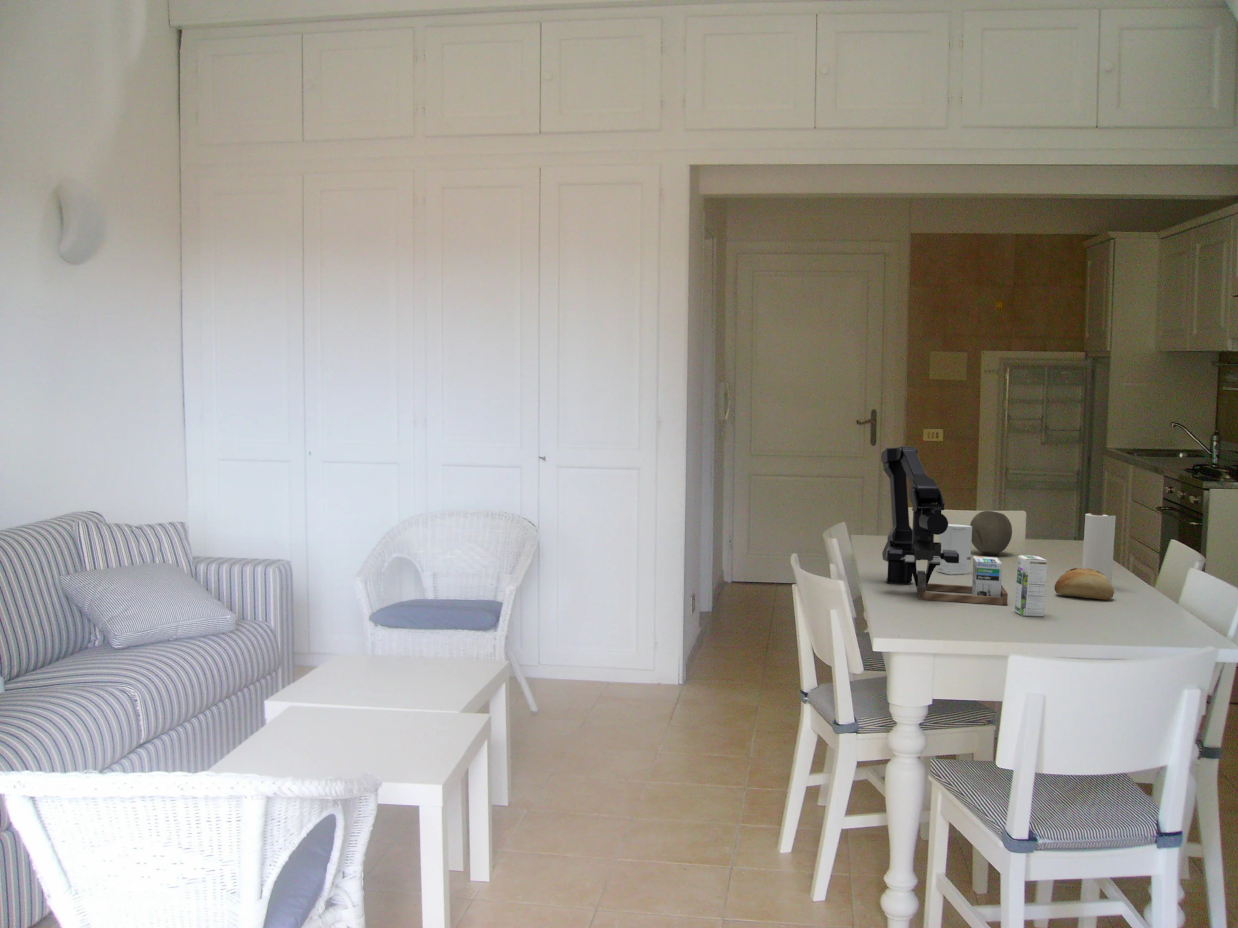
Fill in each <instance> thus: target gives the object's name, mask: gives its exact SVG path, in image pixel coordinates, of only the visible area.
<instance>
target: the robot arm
mask: <svg viewBox="0 0 1238 928" xmlns="http://www.w3.org/2000/svg"><path fill="white" fill-rule="evenodd" d="M880 461H881V463H882V467H883V471H884V473H885V474H886V476H888V478H889V486H890V504H891V505H890V506H891V519H892V520H891V522H892V524H891V525H892V528H891V530H890V531H889V533H888V535H887V541H886V543H885V545H884V548H883V550H882V552H881V553H882V560H883V561H885V562H887V576H886V583H887V584H899V585H902V584H903V585H911V582H912V581H913V580H914V583H915V587H917V584H918V580H917V561H927V565H926V571H925V573H926V587H927V584H928V583H930V578H931V576H932V574H933V572H934V571H935V569H936V567H937V565H940V561H941V559H944V560H945V561H946V562H947V563H959V554H958V552H957V551H956V550H943V552H942V553H941V543H939V541H937V542H935V535H936V536H937V535H938V536H939V534H942V533H944V532H945V531H946V530H947V528H948V524H949V521H948V518H947V517H946V516H945V514H943V513H942V511H945V506H946V503H945V499H944V497H943V494H942V492H941V489H940V488H939V486H938V484H937V483H936V481H935V480H934V479H933V478H931V477H930V476H929V477H928V475H927V473H926V471H925V469H924V468H925V467H924V465H922V461H921V460H920V458H919V455H918V448H917V447H914V446H909V445H908V446H907V445H905V446H904V445H902V446H897V447H886V448H885V450H883V451H882V452H881V455H880ZM907 480H908V482H909V484H910V485H909V486H910V487H909V490H908V483H907ZM908 498H909V499H908ZM909 501H910V502H911V505H912V508H911V510H912V512H913V513H912V527H911V525H910V515H909V514H910V513H909V511H910V510H909Z"/></svg>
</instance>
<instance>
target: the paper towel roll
mask: <svg viewBox="0 0 1238 928" xmlns="http://www.w3.org/2000/svg"><path fill="white" fill-rule="evenodd" d="M1116 517H1117V515H1107V514H1102V513H1085V515H1084V532H1083V536H1084V537H1083V549H1082V566H1081V568H1082V569H1092V570H1096V571H1099V572H1100V573H1103V574H1104V575H1105V576H1106V577H1107V578H1108V580H1109V581H1110V583H1111V585H1112V583H1113V565H1114V553H1115V551H1114V550H1115V549H1114V548H1115V535H1116V534H1115V533H1116ZM1112 586H1113V585H1112Z"/></svg>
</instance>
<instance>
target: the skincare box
mask: <svg viewBox="0 0 1238 928" xmlns="http://www.w3.org/2000/svg"><path fill="white" fill-rule="evenodd" d="M971 540H972V526H970V525H965V524H957V523H956V524H955V523H954V524H950V523H948V528H947V530H946V531H945V532H944V533H942V534H939V535H938V542H939V543H941V553H942V552H943V550H956V551H957V552H958V554H959V563H947V562H946V561H945V560H944V559H941V561H940V565H937V566H936V567H937V569H936V571H937V572H939V573H943V574H946V575H950V576H951V575H961V574H962V575H966V574H967V575H968V574H970V573H971V557H972V556H971V554H972V542H971Z"/></svg>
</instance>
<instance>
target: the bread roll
mask: <svg viewBox="0 0 1238 928" xmlns="http://www.w3.org/2000/svg"><path fill="white" fill-rule="evenodd" d="M1053 587H1054V592H1055V594H1057V595H1060V596H1065V597H1066V596H1067V597H1075V598H1076V597H1077V598H1084V599H1086V598H1087V599H1093V600H1094V599H1096V600H1101V601H1108V600H1111V599H1112V598H1113V597H1114V594H1115V590H1114V587H1113V585H1111V583H1110V581H1109V580H1108V578H1107V577H1106V576H1105V575H1104V574H1103V573H1100V572H1099V571H1096V570H1092V569H1082V567H1081V568H1078V567H1073V568H1071V569H1069V570H1066V571H1065V572H1064V573H1063V574H1062V575H1060V576H1059V577H1058V579H1057V580H1056V582H1055V584H1054V586H1053Z"/></svg>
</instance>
